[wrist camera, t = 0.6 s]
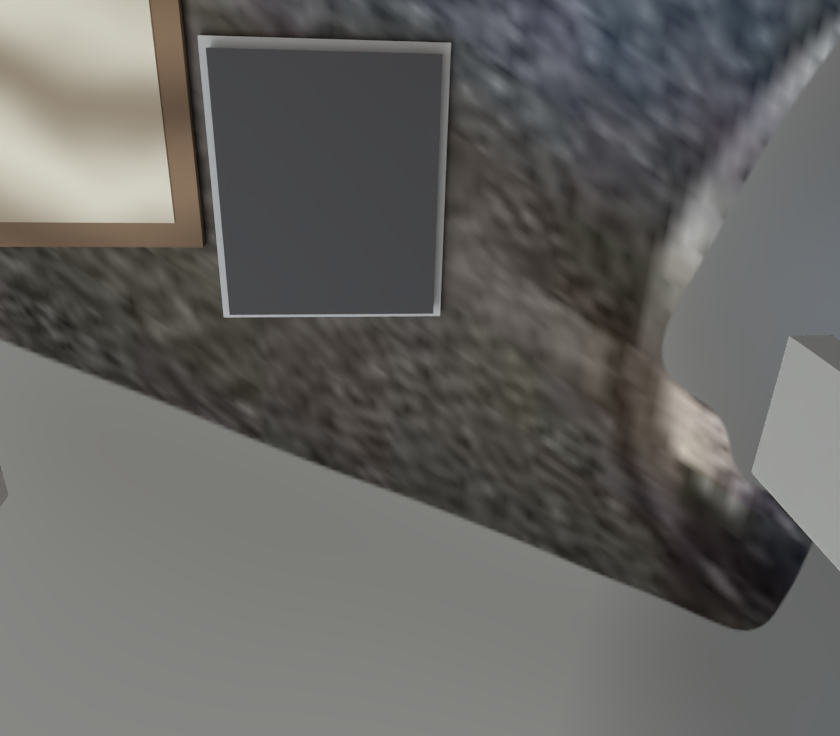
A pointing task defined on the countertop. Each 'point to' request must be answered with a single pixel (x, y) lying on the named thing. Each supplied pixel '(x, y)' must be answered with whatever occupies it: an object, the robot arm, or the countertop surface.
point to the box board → (96, 126)
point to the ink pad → (327, 174)
